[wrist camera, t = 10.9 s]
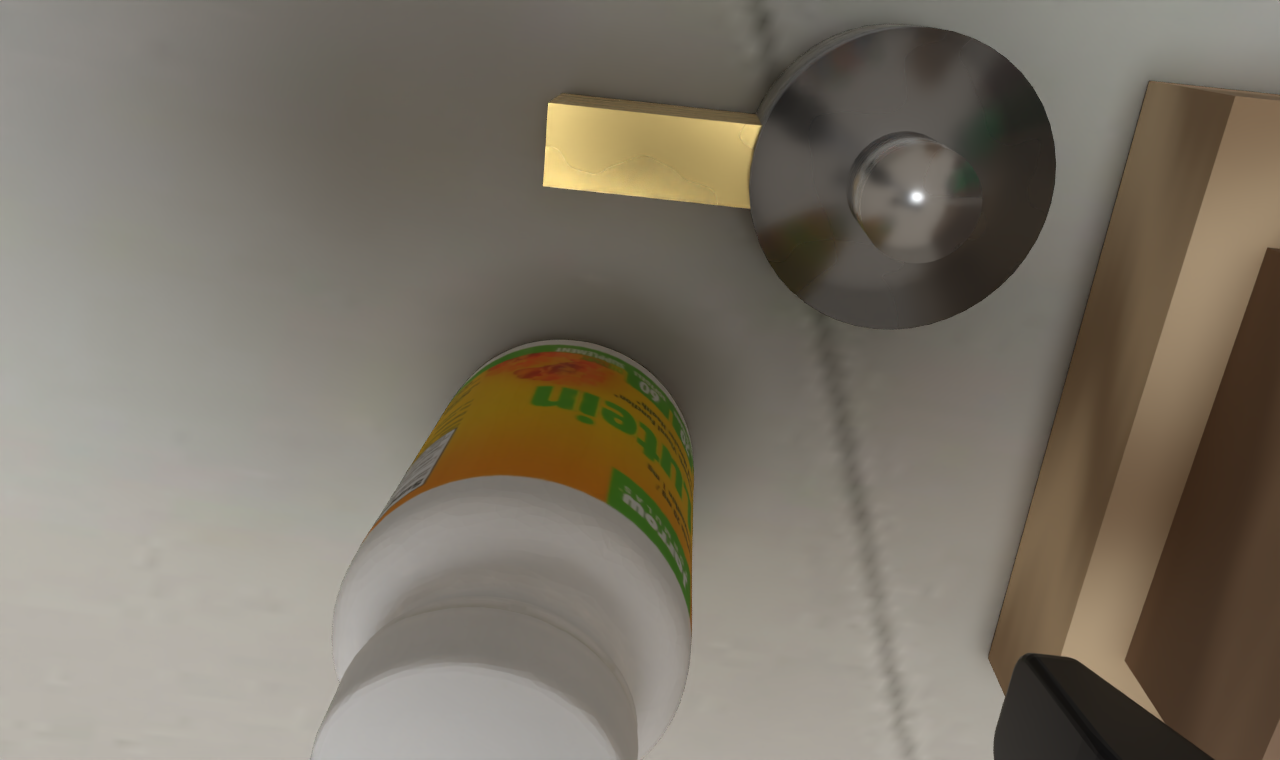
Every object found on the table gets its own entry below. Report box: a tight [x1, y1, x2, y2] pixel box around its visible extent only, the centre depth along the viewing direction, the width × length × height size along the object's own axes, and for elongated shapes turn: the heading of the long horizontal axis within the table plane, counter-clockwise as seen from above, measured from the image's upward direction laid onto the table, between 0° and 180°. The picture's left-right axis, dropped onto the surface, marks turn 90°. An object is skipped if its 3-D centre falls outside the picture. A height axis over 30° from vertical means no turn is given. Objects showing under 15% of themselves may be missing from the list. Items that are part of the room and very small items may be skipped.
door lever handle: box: [543, 24, 1056, 329], centre depth 17 cm, size 5×8×4 cm, turn 84°
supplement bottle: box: [310, 340, 694, 760], centre depth 16 cm, size 5×5×10 cm
